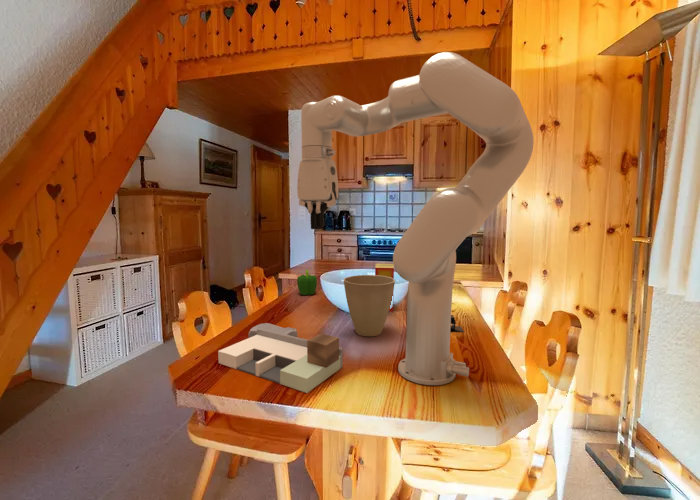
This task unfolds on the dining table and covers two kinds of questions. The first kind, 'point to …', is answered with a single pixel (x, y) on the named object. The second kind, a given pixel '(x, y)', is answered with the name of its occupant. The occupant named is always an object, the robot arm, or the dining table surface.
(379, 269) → the baking soda box
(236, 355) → the box
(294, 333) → the stone block
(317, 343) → the walnut cube
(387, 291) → the plant pot
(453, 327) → the build plate
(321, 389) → the dining table surface
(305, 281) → the bell pepper
